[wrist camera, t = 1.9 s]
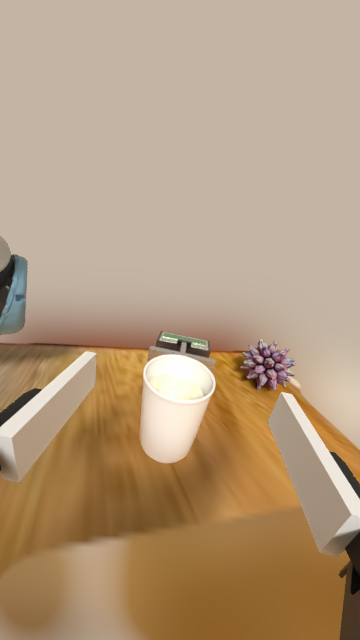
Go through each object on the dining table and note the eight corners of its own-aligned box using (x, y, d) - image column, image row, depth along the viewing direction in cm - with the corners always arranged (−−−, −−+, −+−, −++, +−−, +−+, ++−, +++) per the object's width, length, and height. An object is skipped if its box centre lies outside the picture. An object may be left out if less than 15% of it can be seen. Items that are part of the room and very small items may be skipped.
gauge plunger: (143, 388, 38) (149, 348, 35) (152, 367, 45) (157, 332, 41) (204, 402, 38) (215, 362, 34) (203, 378, 44) (213, 344, 41)
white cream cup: (139, 408, 35) (147, 350, 30) (193, 414, 36) (208, 358, 31) (127, 467, 26) (137, 395, 21) (200, 473, 26) (223, 406, 22)
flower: (225, 379, 47) (239, 335, 43) (248, 365, 56) (262, 327, 51) (272, 411, 40) (294, 362, 36) (290, 389, 48) (310, 347, 44)
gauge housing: (152, 369, 46) (157, 339, 43) (156, 358, 50) (161, 330, 48) (202, 380, 45) (210, 350, 43) (202, 367, 50) (209, 340, 47)
